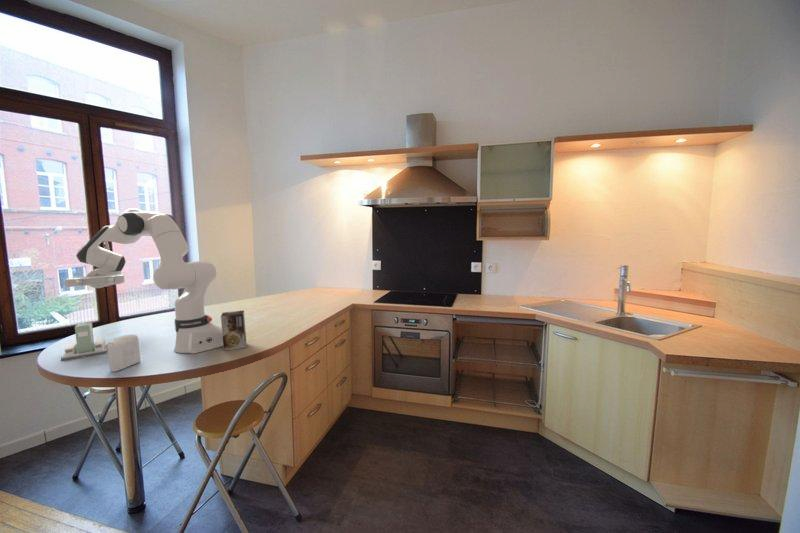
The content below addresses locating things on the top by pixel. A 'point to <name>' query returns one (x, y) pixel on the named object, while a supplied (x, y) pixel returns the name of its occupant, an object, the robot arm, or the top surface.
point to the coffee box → (233, 330)
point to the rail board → (99, 348)
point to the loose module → (84, 337)
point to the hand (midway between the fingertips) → (93, 282)
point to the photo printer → (123, 352)
